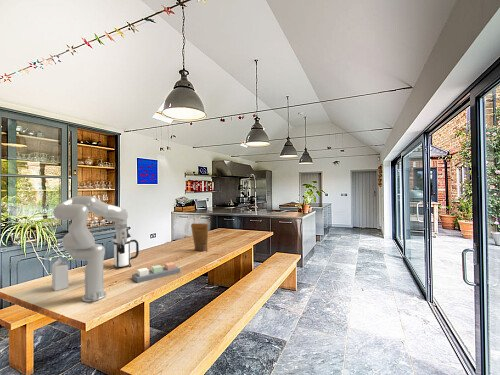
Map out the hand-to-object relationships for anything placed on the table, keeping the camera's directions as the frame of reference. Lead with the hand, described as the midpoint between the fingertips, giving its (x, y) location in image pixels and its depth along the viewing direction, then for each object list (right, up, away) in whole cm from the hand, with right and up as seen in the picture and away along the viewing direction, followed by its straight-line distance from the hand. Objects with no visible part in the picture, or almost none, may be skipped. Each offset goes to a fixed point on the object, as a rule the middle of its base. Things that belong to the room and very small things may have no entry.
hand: (121, 252), depth 180 cm
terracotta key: (+30, -17, +15) cm, 37 cm away
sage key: (+22, -18, +9) cm, 29 cm away
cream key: (+14, -18, +2) cm, 23 cm away
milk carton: (-33, -20, -14) cm, 41 cm away
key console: (+22, -19, +9) cm, 30 cm away
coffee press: (-13, -19, +31) cm, 39 cm away
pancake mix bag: (+40, -18, +79) cm, 91 cm away
